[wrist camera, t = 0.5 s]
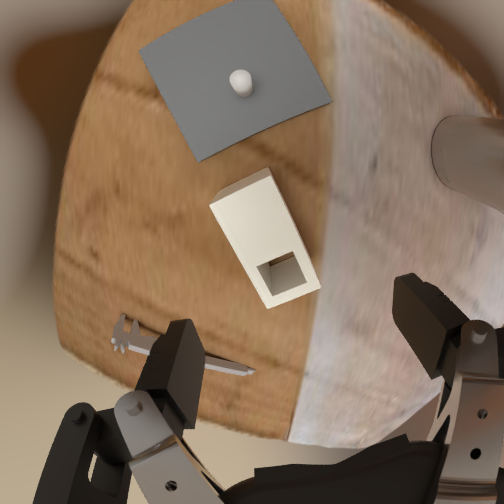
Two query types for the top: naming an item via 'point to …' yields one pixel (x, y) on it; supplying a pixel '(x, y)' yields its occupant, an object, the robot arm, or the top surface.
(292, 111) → the pin plate
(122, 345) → the caliper
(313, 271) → the socket block
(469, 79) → the top surface
